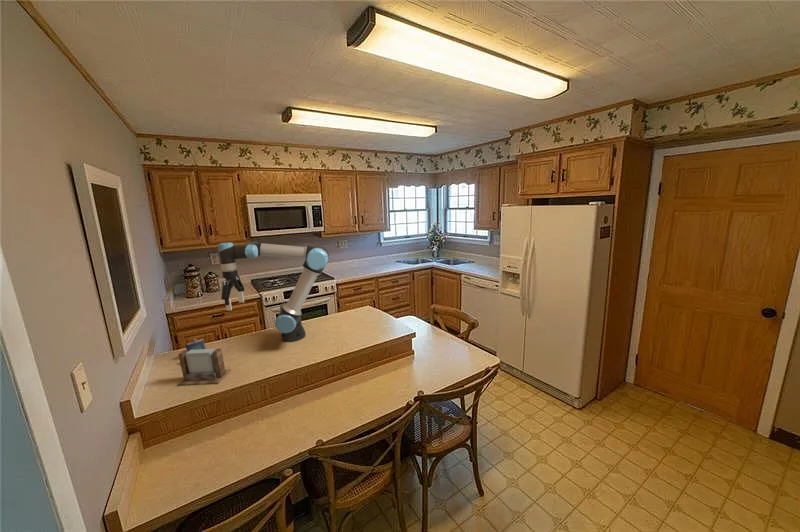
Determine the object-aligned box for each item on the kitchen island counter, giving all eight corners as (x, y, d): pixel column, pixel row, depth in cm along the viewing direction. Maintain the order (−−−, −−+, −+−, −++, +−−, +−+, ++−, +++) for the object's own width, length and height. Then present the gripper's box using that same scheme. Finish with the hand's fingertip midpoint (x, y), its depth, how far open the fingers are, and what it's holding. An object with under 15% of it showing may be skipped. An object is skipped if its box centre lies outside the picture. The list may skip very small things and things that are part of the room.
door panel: (219, 373, 158) (214, 348, 155) (214, 378, 154) (209, 352, 151) (196, 374, 158) (190, 349, 155) (190, 379, 154) (185, 353, 151)
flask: (205, 352, 185) (202, 335, 183) (207, 353, 183) (204, 336, 181) (188, 358, 178) (184, 341, 176) (189, 359, 176) (185, 342, 174)
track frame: (231, 370, 162) (226, 344, 159) (218, 383, 150) (212, 356, 147) (193, 372, 162) (188, 346, 159) (177, 385, 150) (171, 358, 147)
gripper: (234, 266, 184) (240, 299, 189) (209, 275, 160) (216, 314, 164) (246, 265, 184) (252, 299, 189) (223, 275, 160) (230, 313, 164)
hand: (235, 306), depth 177 cm, fingers open, 13 cm apart
